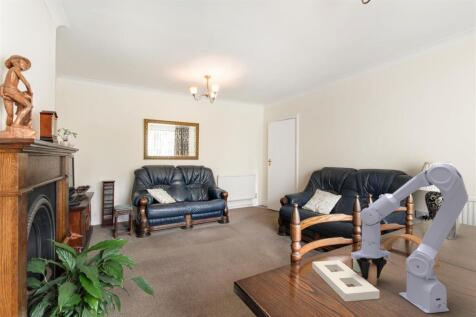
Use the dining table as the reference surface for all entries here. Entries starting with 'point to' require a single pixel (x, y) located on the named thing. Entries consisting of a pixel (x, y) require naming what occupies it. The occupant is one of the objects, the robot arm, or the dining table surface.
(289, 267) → the dining table surface
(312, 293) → the dining table surface
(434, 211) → the coffee box
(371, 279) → the peg terracotta
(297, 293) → the dining table surface
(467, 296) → the dining table surface
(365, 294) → the white flat block
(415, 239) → the arch
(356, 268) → the peg sage
